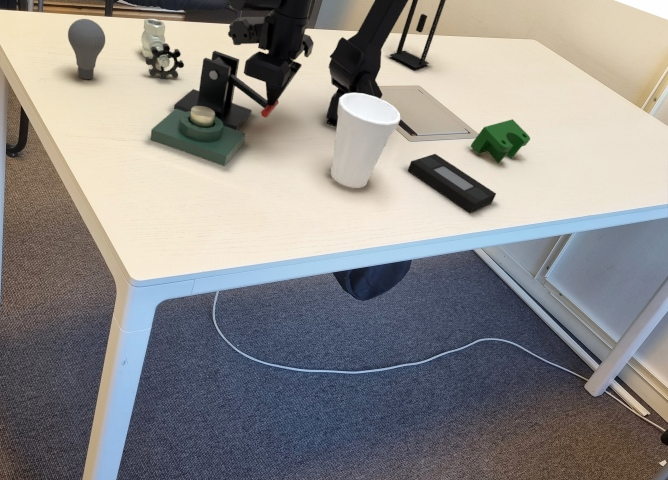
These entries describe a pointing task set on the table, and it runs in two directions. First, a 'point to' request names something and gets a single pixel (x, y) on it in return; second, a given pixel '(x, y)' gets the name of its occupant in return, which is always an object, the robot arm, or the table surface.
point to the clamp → (500, 140)
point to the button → (202, 116)
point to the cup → (361, 137)
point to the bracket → (217, 92)
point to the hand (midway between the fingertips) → (271, 104)
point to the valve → (158, 49)
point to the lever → (250, 92)
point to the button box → (198, 137)
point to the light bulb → (86, 45)
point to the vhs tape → (452, 182)
